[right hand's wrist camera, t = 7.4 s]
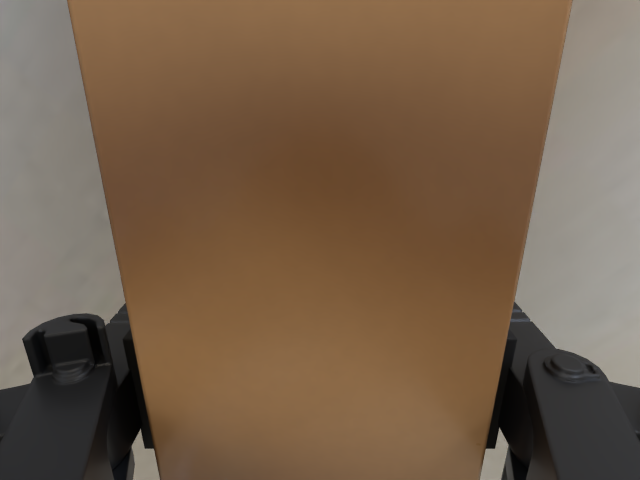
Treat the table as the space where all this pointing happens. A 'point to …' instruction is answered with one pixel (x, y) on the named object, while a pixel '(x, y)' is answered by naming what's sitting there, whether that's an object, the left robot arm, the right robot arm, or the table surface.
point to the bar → (319, 221)
